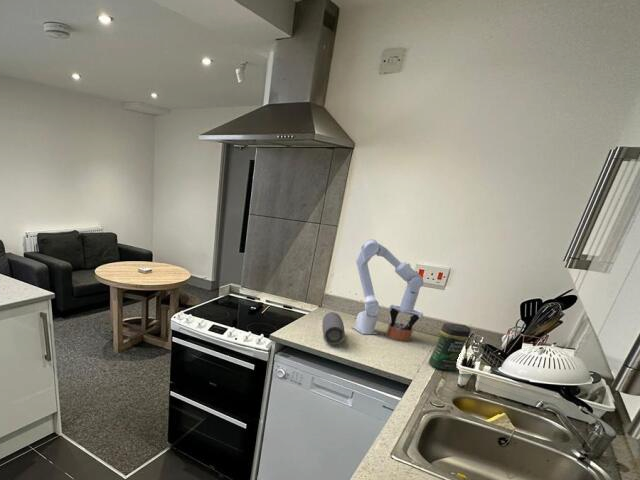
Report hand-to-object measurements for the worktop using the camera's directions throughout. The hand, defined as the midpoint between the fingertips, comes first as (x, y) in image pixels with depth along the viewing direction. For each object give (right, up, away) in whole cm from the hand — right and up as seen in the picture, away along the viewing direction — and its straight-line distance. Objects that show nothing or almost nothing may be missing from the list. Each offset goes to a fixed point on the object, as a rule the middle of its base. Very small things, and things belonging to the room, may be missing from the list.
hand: (400, 327), depth 188 cm
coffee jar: (+2, -18, -28) cm, 34 cm away
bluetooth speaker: (-36, -6, -7) cm, 37 cm away
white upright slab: (0, -4, +1) cm, 4 cm away
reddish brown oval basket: (+1, -4, +3) cm, 5 cm away
